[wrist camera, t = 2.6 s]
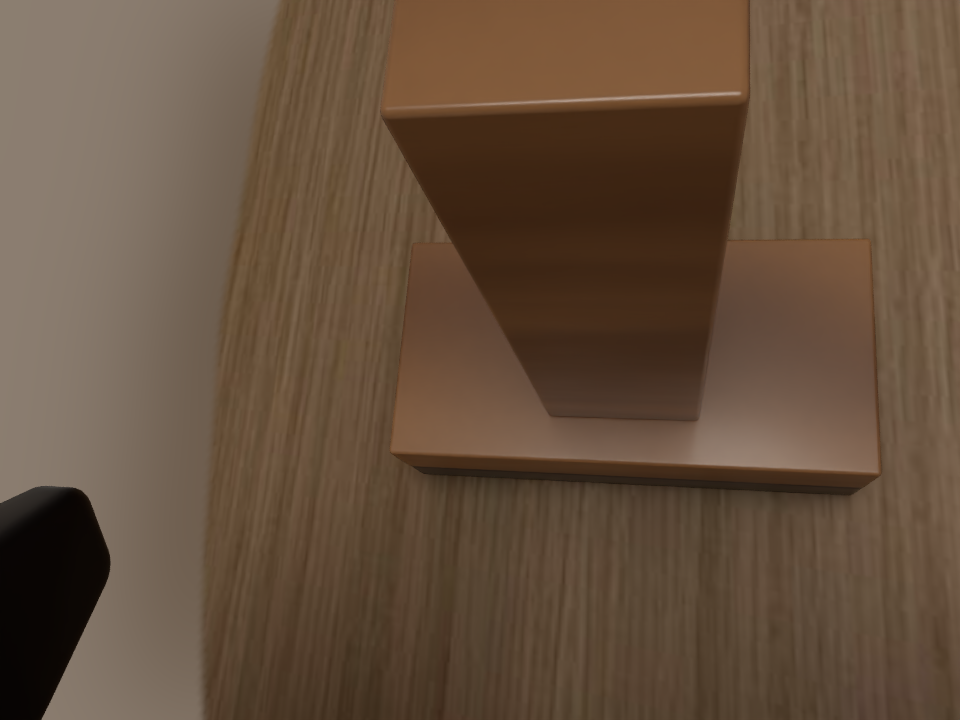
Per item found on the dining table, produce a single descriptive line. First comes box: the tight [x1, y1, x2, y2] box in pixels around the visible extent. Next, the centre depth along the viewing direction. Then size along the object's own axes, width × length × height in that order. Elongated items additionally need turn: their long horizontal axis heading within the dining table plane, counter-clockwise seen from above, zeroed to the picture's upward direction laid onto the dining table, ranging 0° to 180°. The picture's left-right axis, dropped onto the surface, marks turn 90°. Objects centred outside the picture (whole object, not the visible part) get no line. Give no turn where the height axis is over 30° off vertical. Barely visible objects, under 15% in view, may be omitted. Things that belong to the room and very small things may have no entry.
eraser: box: [380, 0, 882, 495], centre depth 13 cm, size 4×9×13 cm, turn 85°
